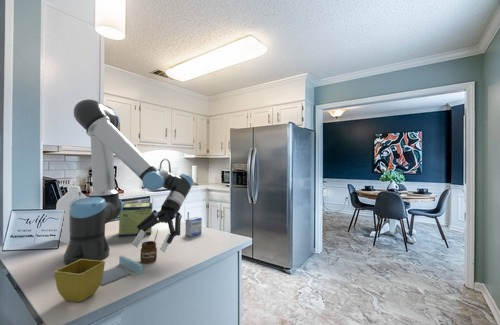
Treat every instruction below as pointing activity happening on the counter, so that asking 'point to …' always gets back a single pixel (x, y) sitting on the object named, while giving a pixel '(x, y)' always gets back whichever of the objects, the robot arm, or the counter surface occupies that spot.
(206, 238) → the counter surface
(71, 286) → the flower pot
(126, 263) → the acrylic wall
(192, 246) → the counter surface
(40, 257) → the counter surface
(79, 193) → the milk
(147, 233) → the protein box
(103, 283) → the slate pad
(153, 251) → the utensil holder
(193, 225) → the medicine box
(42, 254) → the counter surface
